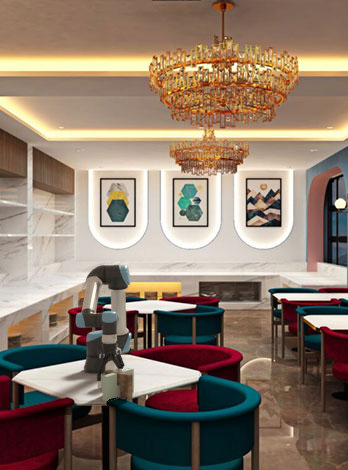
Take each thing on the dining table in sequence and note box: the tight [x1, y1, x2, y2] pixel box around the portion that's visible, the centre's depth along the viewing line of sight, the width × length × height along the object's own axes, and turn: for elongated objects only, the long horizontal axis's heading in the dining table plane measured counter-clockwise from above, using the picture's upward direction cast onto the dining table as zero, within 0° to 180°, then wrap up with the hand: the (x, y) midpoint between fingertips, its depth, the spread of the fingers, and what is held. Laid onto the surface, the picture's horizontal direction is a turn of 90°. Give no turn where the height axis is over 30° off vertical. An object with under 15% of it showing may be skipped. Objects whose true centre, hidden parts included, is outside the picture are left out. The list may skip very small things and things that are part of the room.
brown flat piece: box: [103, 370, 134, 400], centre depth 271 cm, size 16×3×12 cm, turn 54°
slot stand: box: [101, 367, 135, 403], centre depth 271 cm, size 20×3×12 cm, turn 144°
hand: (109, 384), depth 274 cm, fingers open, 13 cm apart
